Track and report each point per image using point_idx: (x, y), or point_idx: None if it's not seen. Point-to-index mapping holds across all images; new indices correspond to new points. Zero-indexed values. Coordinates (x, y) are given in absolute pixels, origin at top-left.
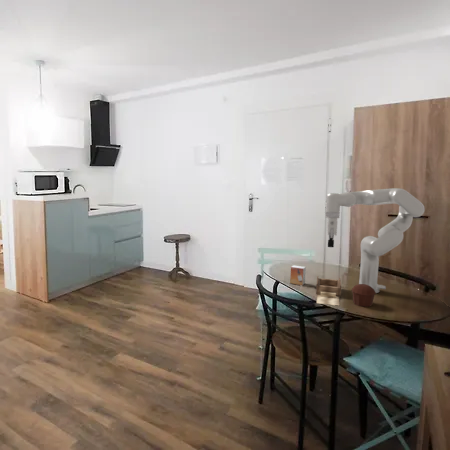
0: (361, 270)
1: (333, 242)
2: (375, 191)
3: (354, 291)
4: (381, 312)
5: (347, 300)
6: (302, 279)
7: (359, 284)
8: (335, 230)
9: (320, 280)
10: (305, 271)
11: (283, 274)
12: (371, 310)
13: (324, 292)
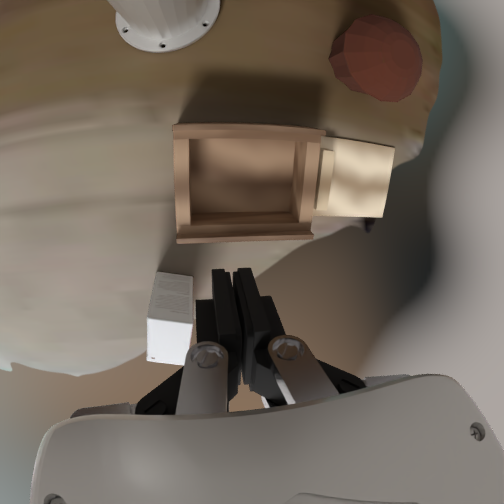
0: (174, 2)
1: (263, 312)
2: None
3: (403, 97)
4: None
5: (338, 107)
6: (192, 292)
7: (399, 70)
8: (491, 452)
9: (190, 220)
10: (152, 302)
11: (87, 342)
12: None
13: (324, 195)
